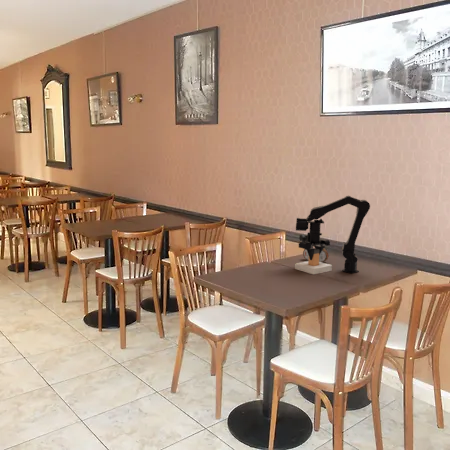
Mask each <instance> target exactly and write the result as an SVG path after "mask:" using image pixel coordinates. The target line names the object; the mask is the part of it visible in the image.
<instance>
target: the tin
mask: <svg viewBox="0 0 450 450" xmlns="http://www.w3.org/2000/svg"><path fill="white" fill-rule="evenodd" d="M313 248H315V247H314V246H313ZM302 255H303V257H304V259H305V260H306V261H309V255H308V252H307V250H306V249H303V252H302ZM328 259H329V252H328V251H327V250H326V249H325V248H324V249H323V250H322V252H321V253H320V255H319V262H322V263H325V262H326V261H327V260H328Z"/></svg>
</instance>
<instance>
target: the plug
mask: <svg viewBox="0 0 450 450" xmlns="http://www.w3.org/2000/svg"><path fill="white" fill-rule="evenodd" d="M307 261H308V260H307ZM308 265H311V266H317V265H319V249H315V250H314V254H313V258H312V260H310V258H309V261H308Z"/></svg>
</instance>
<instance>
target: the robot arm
mask: <svg viewBox="0 0 450 450" xmlns="http://www.w3.org/2000/svg"><path fill="white" fill-rule="evenodd" d="M347 205H351V206H352V207H355V208H356V212H355V213H356V215H355V219H354V221H353V224H352V226H351V229H350V232H349V236H348V238H347V240H346V242H345V241H343V242H342V246H341V249H340V250H341V254H342V256H343V258H344V259H345V260H344V268H343V269H342V271H341V272H345V273H348V274H354V273H355V274H356V273H359V271H360V270H357V268H358V260H359V259H358V256H357V255H356V254H355V248H356V247H355V246H356V240H357V238H358V236H359V233H360V230H361V228H362V227H361V226H362V224H363V222H364V218H365V217H366V216H367V214H368V213H369V210H370V209H371V204H370V203H369V201H367V199H358V198H355V197H353V196H351V195H346V196H344V197H342V198H340V199H338V200H335V201H332V202H330V203H328V204H327V203H326V204H325V205H321V206H319V205H318V206H316V207H315V206H314V207H313V208H311V209H310V211H309V214H308V215H307V217H306V218H301V217H300V218H299V217H296V223H295V231H296V232H297V231H300V232H301V231H303V232H306V231H307V230H308V229H309V232H307V235H304V234H300V235H299V241H300V242H299V243H298V248H299V249H303V250H304V249H306V250H307V252H308V255H309V258H310V260H312V258H313V254H314V250H315V249H319V255H320V253H321V252H322V250H323V249H325V248H326V247H327V246H331V242H330V239H325V238H321V236H322V235H323V233H322V232H321V224H325V221H324V220H323V219H322V217H323V216H325V215H326V214H328V213H330V212H332V211H335V210H338V209H339V208H342V207H344V206H347ZM313 247H315V248H313Z"/></svg>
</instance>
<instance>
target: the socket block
mask: <svg viewBox="0 0 450 450" xmlns="http://www.w3.org/2000/svg"><path fill="white" fill-rule="evenodd" d="M294 269H295V270H298V271H300V272H304V273H307V274H310V275H318V274H322V273H328V272H332V270H333V265H332V264H329V263H326V262H319V265H317V266H311V265H308V260H306V261H300V262H297V263H295V264H294Z"/></svg>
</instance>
